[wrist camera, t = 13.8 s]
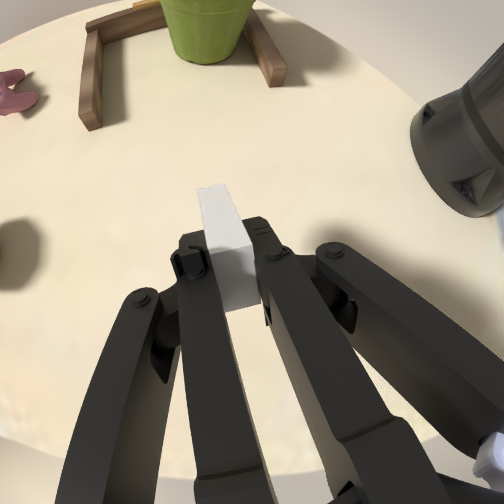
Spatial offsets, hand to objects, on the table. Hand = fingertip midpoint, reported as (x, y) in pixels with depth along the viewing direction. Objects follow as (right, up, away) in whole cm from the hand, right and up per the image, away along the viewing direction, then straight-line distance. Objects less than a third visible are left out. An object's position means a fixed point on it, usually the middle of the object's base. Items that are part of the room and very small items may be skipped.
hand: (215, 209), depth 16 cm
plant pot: (-3, +22, +13) cm, 26 cm away
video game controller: (-30, +18, +10) cm, 36 cm away
